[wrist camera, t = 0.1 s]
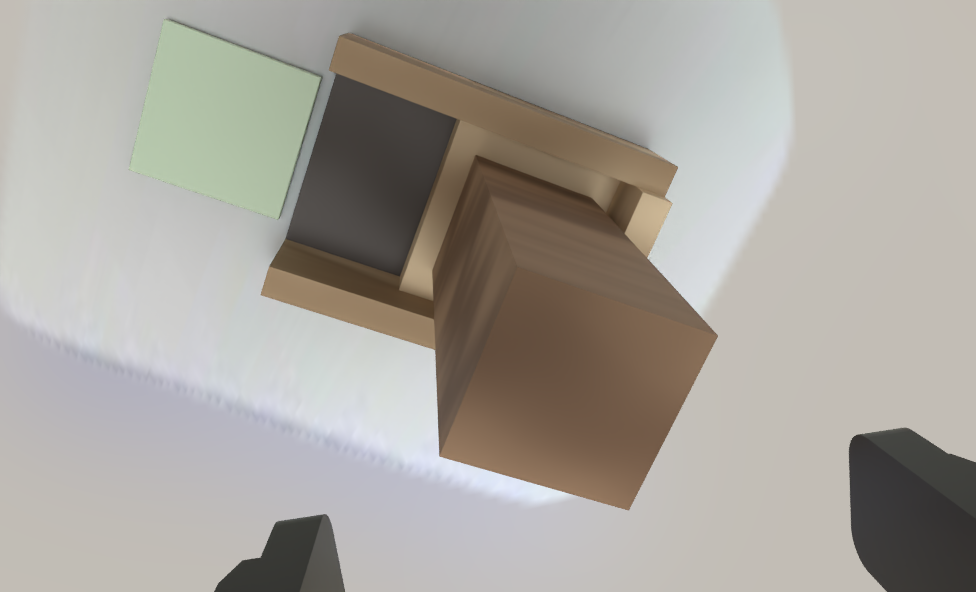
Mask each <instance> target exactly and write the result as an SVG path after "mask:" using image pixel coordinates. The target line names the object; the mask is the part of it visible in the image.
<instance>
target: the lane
mask: <svg viewBox="0 0 976 592" xmlns="http://www.w3.org/2000/svg"><path fill="white" fill-rule="evenodd" d="M329 71H332V72H334V73H337V74H336V77H335V80H334V83H333V87H332V90H331V93H330V96H329V100H328V103H327V106H326V109H325V113H324V116H323V119H322V122H321V126H320V129H319V132H318V135H317V139H316V142H315V145H314V148H313V152H312V155H311V158H310V162H309V165H308V168H307V171H306V175H305V178H304V181H303V184H302V188H301V191H300V194H299V197H298V201H297V204H296V207H295V210H294V214H293V217H292V220H291V223H290V227H289V230H288V233H287V236H286V239H285V241H284V243H283V244H282V246H281V248H280V249H279V251H278V253H277V254H276V256H275V258H274V259H273V261H272V263H271V264H270V266H269V269H268V272H267V276H266V279H265V282H264V285H263V289H262V292H261V295H262V296H265V297H268V298H272V299H275V300H278V301H281V302H284V303H288V304H291V305H294V306H297V307H300V308H304V309H307V310H310V311H313V312H316V313H320V314H323V315H326V316H329V317H332V318H335V319H339V320H342V321H345V322H348V323H351V324H355V325H358V326H361V327H364V328H367V329H371V330H374V331H377V332H380V333H383V334H386V335H390V336H393V337H396V338H399V339H402V340H406V341H409V342H412V343H415V344H418V345H422V346H425V347H428V348H431V349H434V350H435V329H434V303H433V278H432V270H433V267H434V264H435V262H436V259H437V256H438V254H439V251H440V248H441V246H442V243H443V240H444V238H445V235H446V232H447V230H448V227H449V224H450V222H451V219H452V216H453V214H454V211H455V208H456V205H457V203H458V200H459V197H460V195H461V192H462V189H463V187H464V184H465V181H466V179H467V176H468V173H469V171H470V168H471V165H472V163H473V160H474V157H475V155H477V156H480V157H483V158H485V159H488V160H491V161H493V162H496V163H499V164H502V165H504V166H507V167H510V168H512V169H515V170H518V171H520V172H523V173H526V174H529V175H531V176H534V177H537V178H539V179H542V180H545V181H548V182H550V183H553V184H556V185H558V186H561V187H564V188H566V189H569V190H572V191H575V192H577V193H580V194H583V195H585V196H588V197H591V198H593V199H594V201H595V202H596V203H597V204H598V205H599V206H600V207H601V208H602V209H603V210H604V212H605V213H606V214H607V215H608V216H609V217H610V218H611V219H612V220H613V221H614V222H615V224H616V225H617V226H618V227H619V228H620V229H621V230H622V231H623V232H624V233H625V235H626V236H627V237H628V238H629V239H630V240H631V241H632V242H633V243H634V244H635V245H636V247H637V248H638V249H639V250H640V251H641V252H642V253H643V254H644V255H645V256H646V257H648V255H649V253H650V251H651V249H652V247H653V244H654V242H655V240H656V238H657V236H658V234H659V231H660V229H661V227H662V225H663V223H664V221H665V219H666V216H667V214H668V212H669V210H670V208H671V206H672V203H671V202H670V201H669V200H668V199H666V198H665V195H666V193H667V191H668V188H669V186H670V184H671V182H672V180H673V177H674V175H675V173H676V171H677V169H678V167H677V166H675V165H674V164H672V163H670V162H669V161H667V160H665V159H664V158H662V157H660V156H659V155H657V154H656V153H654V152H652V151H651V150H649V149H647V148H644V147H641V146H639V145H636V144H634V143H631V142H629V141H626V140H623V139H621V138H618V137H616V136H613V135H611V134H608V133H605V132H603V131H600V130H598V129H595V128H593V127H590V126H588V125H585V124H582V123H580V122H577V121H575V120H572V119H570V118H567V117H564V116H562V115H559V114H557V113H554V112H552V111H549V110H546V109H544V108H541V107H539V106H536V105H534V104H531V103H528V102H526V101H523V100H521V99H518V98H516V97H513V96H510V95H508V94H505V93H503V92H500V91H498V90H495V89H493V88H490V87H487V86H485V85H482V84H480V83H477V82H475V81H472V80H469V79H467V78H464V77H462V76H459V75H457V74H454V73H451V72H449V71H446V70H444V69H441V68H439V67H436V66H433V65H431V64H428V63H426V62H423V61H421V60H418V59H415V58H413V57H410V56H408V55H405V54H403V53H400V52H398V51H395V50H392V49H390V48H387V47H385V46H382V45H380V44H377V43H374V42H372V41H369V40H367V39H364V38H362V37H359V36H356V35H354V34H351V33H347V34H344V35H341V36H339V38H338V42H337V45H336V48H335V51H334V55H333V58H332V61H331V65H330V68H329Z"/></svg>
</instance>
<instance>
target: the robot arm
mask: <svg viewBox="0 0 976 592" xmlns="http://www.w3.org/2000/svg"><path fill="white" fill-rule="evenodd" d="M849 466H850V467H849V470H850V503H851V530H852V537H853V541H854V545H855V548H856V550H857V553H858V555H859V558H860V560H861V562H862V563H863V565H864V567H865V568H866V569H867V571H868V572H869V573H870V574H871V575H872V576H873V577H874V578H875V579H876V580H877V582H879V584H880V585H881V586H882V587H883V588H884V589H885V590H886V591H887V592H976V462H973V461H970V460H967V459H964V458H961V457H958V456H956V455H952V454H947V453H946V452H944V451H943V450H941V449H940V448H938V447H937V446H935V445H934V444H932V443H931V442H929V441H928V440H926V439H925V438H923V437H921V436H920V435H918V434H917V433H915V432H914V431H912V430H910V429H908V428H899V429H893V430H886V431H879V432H872V433H866V434H860V435H856V436H854V437H853V438H852V440H851V443H850V447H849ZM214 592H345V589H344V584H343V579H342V574H341V569H340V564H339V559H338V554H337V549H336V544H335V539H334V534H333V529H332V525H331V522H330V519H329V517H328V516H327V515H326V514H323V515H317V516H310V517H303V518H297V519H290V520H284V521H278V522H276V523H275V525H274V527H273V530H272V532H271V534H270V537H269V539H268V541H267V544H266V546H265V549H264V551H263V553H262V556H261V558H255V559H249V560H243V561H242V562H241V563H239V564H238V566H236V567H235V568H234V569H233V570H232V571H231V572H230V573H229V574H228V575H227V576H226V577H225V578H224V579H222V580H221V581H220V582H219V583H218V585H217V587H216V590H215V591H214Z"/></svg>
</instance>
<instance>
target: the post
mask: <svg viewBox="0 0 976 592" xmlns="http://www.w3.org/2000/svg"><path fill="white" fill-rule="evenodd" d="M432 278H433V303H434V329H435V354H436V380H437V405H438V430H439V456H440V457H443V458H447V459H450V460H454V461H457V462H461V463H464V464H468V465H471V466H475V467H478V468H482V469H485V470H489V471H492V472H496V473H499V474H503V475H506V476H510V477H513V478H517V479H520V480H524V481H527V482H531V483H534V484H538V485H541V486H545V487H548V488H552V489H555V490H559V491H562V492H566V493H569V494H573V495H576V496H580V497H583V498H587V499H591V500H594V501H597V502H601V503H604V504H608V505H611V506H615V507H618V508H622V509H625V510H629V509H630V507H631V505H632V503H633V501H634V499H635V497H636V495H637V493H638V491H639V489H640V487H641V485H642V483H643V481H644V480H645V477H646V475H647V474H648V472H649V470H650V468H651V465H652V464H653V462H654V460H655V458H656V456H657V454H658V452H659V450H660V448H661V446H662V444H663V442H664V440H665V438H666V436H667V435H668V433H669V431H670V428H671V427H672V424H673V423H674V421H675V419H676V417H677V415H678V413H679V411H680V409H681V407H682V405H683V403H684V401H685V399H686V397H687V395H688V394H689V392H690V390H691V387H692V386H693V384H694V381H695V380H696V377H697V376H698V374H699V372H700V370H701V368H702V366H703V364H704V362H705V360H706V358H707V356H708V354H709V352H710V351H711V349H712V347H713V345H714V343H715V341H716V339H717V337H718V335H717V334H716V333H715V332H714V331H713V330H712V329H711V328H710V326H708V324H707V323H706V322H705V321H704V320H703V319H702V318H701V317H700V316H699V314H698V313H697V312H696V311H695V310H694V309H693V308H692V307H691V306H690V305H689V303H688V302H687V301H686V300H685V299H684V298H683V297H682V296H681V295H680V294H679V293H678V291H677V290H676V289H675V288H674V287H673V286H672V285H671V284H670V283H669V282H668V280H667V279H666V278H665V277H664V276H663V275H662V274H661V273H660V272H659V271H658V270H657V268H656V267H655V266H654V265H653V264H652V263H651V262H650V261H649V260H648V259H647V257H646V256H645V255H644V254H643V253H642V252H641V251H640V250H639V249H638V248H637V247H636V245H635V244H634V243H633V242H632V241H631V240H630V239H629V238H628V237H627V236H626V235H625V233H624V232H623V231H622V230H621V229H620V228H619V227H618V226H617V225H616V224H615V222H614V221H613V220H612V219H611V218H610V217H609V216H608V215H607V214H606V213H605V212H604V210H603V209H602V208H601V207H600V206H599V205H598V204H597V203H596V202H595V201H594V199H593V198H591V197H588V196H585V195H583V194H580V193H577V192H575V191H572V190H569V189H566V188H564V187H561V186H558V185H556V184H553V183H550V182H548V181H545V180H542V179H539V178H537V177H534V176H531V175H529V174H526V173H523V172H520V171H518V170H515V169H512V168H510V167H507V166H504V165H502V164H499V163H496V162H493V161H491V160H488V159H485V158H483V157H480V156H477V155H475V157H474V160H473V163H472V165H471V168H470V171H469V173H468V176H467V179H466V181H465V184H464V187H463V189H462V192H461V195H460V197H459V200H458V203H457V205H456V208H455V211H454V214H453V216H452V219H451V222H450V224H449V227H448V230H447V232H446V235H445V238H444V240H443V243H442V246H441V248H440V251H439V254H438V256H437V259H436V262H435V264H434V267H433V270H432Z"/></svg>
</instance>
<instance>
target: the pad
mask: <svg viewBox="0 0 976 592" xmlns="http://www.w3.org/2000/svg"><path fill="white" fill-rule="evenodd" d="M321 80H322V77H321V76H318V75H316V74H313V73H310V72H308V71H305V70H302V69H300V68H297V67H294V66H292V65H289V64H286V63H284V62H281V61H278V60H276V59H273V58H270V57H268V56H265V55H262V54H260V53H257V52H254V51H252V50H249V49H246V48H244V47H241V46H238V45H236V44H233V43H230V42H228V41H225V40H222V39H220V38H217V37H214V36H212V35H209V34H206V33H204V32H201V31H198V30H196V29H193V28H190V27H188V26H185V25H182V24H180V23H177V22H174V21H172V20H169V19H164V21H163V25H162V30H161V34H160V38H159V42H158V47H157V51H156V55H155V60H154V64H153V68H152V72H151V77H150V81H149V85H148V90H147V94H146V98H145V102H144V107H143V111H142V115H141V120H140V124H139V128H138V132H137V137H136V141H135V145H134V150H133V154H132V158H131V162H130V167H129V170H131V171H134V172H137V173H140V174H143V175H146V176H149V177H152V178H155V179H158V180H161V181H164V182H167V183H169V184H172V185H175V186H178V187H181V188H184V189H187V190H190V191H193V192H196V193H199V194H202V195H205V196H208V197H211V198H214V199H217V200H220V201H223V202H226V203H229V204H232V205H235V206H238V207H241V208H244V209H247V210H250V211H253V212H256V213H259V214H262V215H265V216H268V217H271V218H274V219H277V220H278V219H279V218H280V216H281V212H282V209H283V206H284V202H285V199H286V196H287V192H288V189H289V186H290V182H291V179H292V176H293V173H294V169H295V166H296V163H297V159H298V156H299V153H300V149H301V146H302V143H303V139H304V136H305V133H306V129H307V126H308V123H309V119H310V116H311V113H312V110H313V106H314V103H315V100H316V96H317V93H318V90H319V86H320V83H321Z"/></svg>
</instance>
